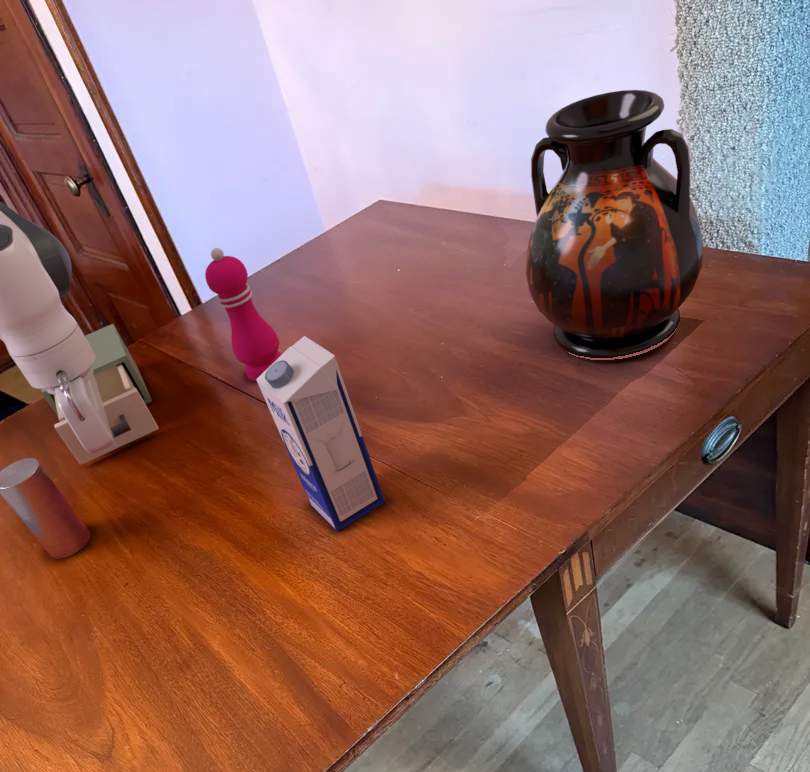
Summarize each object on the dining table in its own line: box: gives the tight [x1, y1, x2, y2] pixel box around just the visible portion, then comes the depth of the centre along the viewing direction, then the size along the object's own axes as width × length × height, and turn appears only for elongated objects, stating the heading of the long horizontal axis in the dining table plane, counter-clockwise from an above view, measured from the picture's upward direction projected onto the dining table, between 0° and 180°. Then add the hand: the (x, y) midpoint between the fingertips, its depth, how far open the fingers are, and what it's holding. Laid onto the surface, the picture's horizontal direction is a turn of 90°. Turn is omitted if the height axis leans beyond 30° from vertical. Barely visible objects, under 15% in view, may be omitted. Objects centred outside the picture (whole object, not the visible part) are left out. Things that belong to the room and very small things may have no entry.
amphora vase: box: [525, 89, 704, 363], centre depth 92 cm, size 22×22×28 cm
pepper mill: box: [204, 247, 282, 382], centre depth 112 cm, size 7×7×20 cm
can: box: [0, 457, 91, 560], centre depth 93 cm, size 6×6×12 cm
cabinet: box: [40, 323, 153, 419], centre depth 121 cm, size 15×14×9 cm
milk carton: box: [256, 335, 386, 532], centre depth 82 cm, size 7×7×20 cm
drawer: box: [53, 363, 159, 466], centre depth 111 cm, size 18×12×7 cm
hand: (111, 445), depth 103 cm, fingers closed
